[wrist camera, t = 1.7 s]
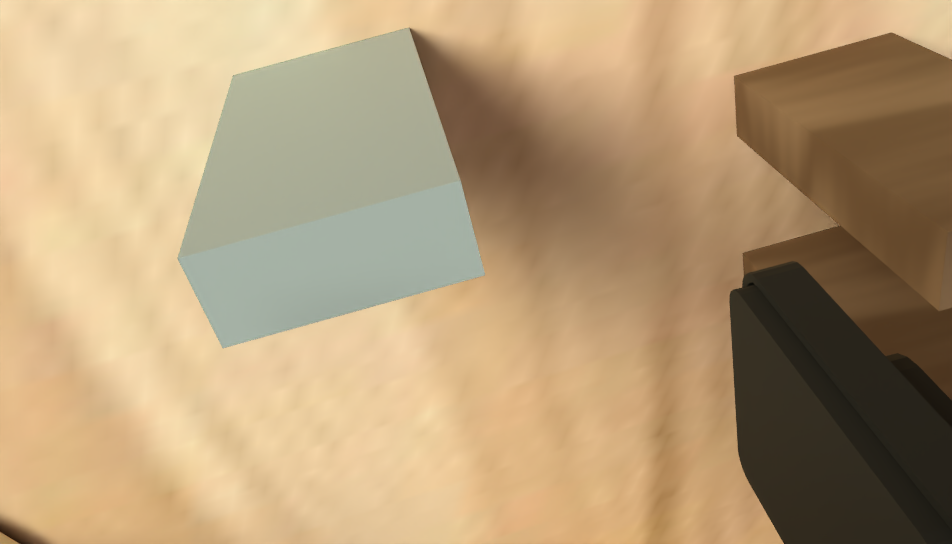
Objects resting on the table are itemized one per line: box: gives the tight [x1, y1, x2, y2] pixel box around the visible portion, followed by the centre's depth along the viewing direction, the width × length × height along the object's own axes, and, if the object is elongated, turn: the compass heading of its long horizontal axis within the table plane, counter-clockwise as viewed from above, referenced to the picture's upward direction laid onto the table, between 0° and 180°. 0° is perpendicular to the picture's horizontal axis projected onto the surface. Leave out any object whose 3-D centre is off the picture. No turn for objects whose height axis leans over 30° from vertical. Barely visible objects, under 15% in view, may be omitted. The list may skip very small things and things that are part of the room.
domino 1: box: [178, 28, 485, 348], centre depth 19 cm, size 2×5×10 cm, turn 103°
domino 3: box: [743, 226, 952, 400], centre depth 24 cm, size 2×5×10 cm, turn 103°
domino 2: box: [734, 33, 952, 311], centre depth 21 cm, size 2×5×10 cm, turn 103°
